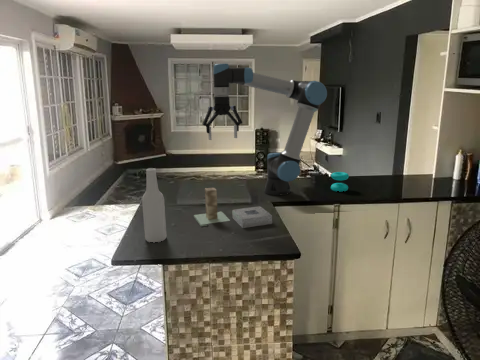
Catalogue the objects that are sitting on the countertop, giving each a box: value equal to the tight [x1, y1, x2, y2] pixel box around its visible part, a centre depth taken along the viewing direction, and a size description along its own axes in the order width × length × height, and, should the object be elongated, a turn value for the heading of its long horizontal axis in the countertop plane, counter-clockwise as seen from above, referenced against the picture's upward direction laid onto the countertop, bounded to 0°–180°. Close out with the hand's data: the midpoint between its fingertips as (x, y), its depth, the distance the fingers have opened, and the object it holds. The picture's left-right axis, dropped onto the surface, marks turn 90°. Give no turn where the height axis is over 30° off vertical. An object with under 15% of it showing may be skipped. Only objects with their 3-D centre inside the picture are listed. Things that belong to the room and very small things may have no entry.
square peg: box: [204, 187, 218, 220], centre depth 188 cm, size 4×4×14 cm
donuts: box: [330, 171, 350, 193], centre depth 235 cm, size 10×10×10 cm
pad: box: [193, 211, 231, 227], centre depth 190 cm, size 14×14×1 cm
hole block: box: [231, 205, 273, 229], centre depth 185 cm, size 14×14×5 cm
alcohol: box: [141, 167, 168, 244], centre depth 165 cm, size 9×9×30 cm
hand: (223, 138), depth 205 cm, fingers open, 13 cm apart
